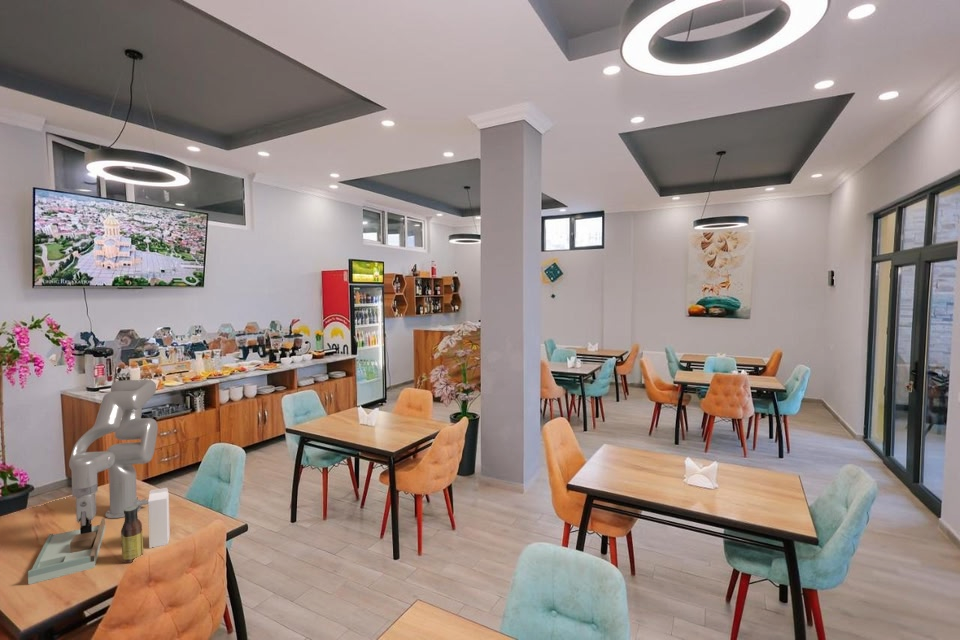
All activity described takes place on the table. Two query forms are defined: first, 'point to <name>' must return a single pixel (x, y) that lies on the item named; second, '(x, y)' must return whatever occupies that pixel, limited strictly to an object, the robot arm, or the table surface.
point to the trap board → (65, 556)
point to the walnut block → (82, 542)
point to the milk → (158, 517)
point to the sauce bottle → (131, 535)
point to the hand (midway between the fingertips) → (86, 535)
